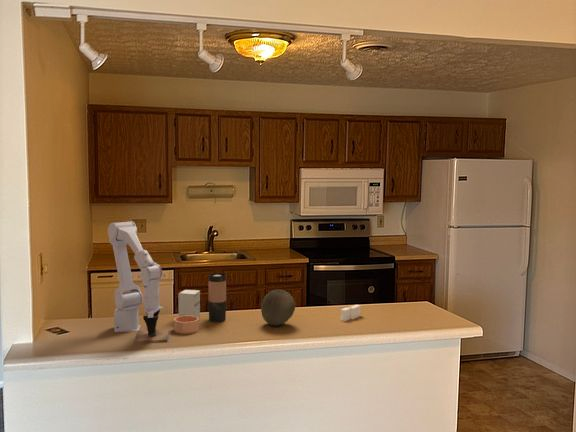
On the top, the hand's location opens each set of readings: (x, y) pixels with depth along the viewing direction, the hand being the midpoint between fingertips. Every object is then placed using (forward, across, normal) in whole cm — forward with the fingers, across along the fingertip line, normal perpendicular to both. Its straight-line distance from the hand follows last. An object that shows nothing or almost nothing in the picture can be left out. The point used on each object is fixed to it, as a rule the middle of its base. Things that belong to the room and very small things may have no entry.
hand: (152, 330), depth 209 cm
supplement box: (+3, +23, -14) cm, 27 cm away
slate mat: (+3, 0, 0) cm, 3 cm away
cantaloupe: (+3, +11, -51) cm, 52 cm away
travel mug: (+3, +22, -26) cm, 34 cm away
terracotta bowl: (+3, +8, -13) cm, 16 cm away
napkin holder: (+4, +17, -84) cm, 86 cm away
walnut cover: (+3, 0, 0) cm, 3 cm away
